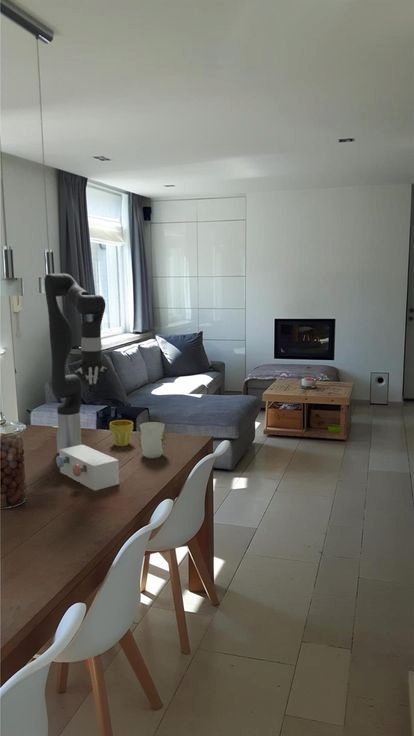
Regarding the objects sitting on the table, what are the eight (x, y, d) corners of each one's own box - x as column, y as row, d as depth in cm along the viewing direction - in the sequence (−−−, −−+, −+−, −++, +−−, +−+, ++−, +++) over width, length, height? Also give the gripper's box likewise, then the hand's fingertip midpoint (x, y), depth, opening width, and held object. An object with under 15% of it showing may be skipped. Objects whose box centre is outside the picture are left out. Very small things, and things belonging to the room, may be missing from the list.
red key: (78, 478, 202) (78, 466, 201) (72, 474, 205) (72, 463, 204) (100, 472, 207) (99, 461, 207) (94, 469, 211) (93, 458, 210)
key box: (94, 490, 202) (93, 466, 200) (60, 472, 221) (59, 449, 220) (119, 484, 208) (118, 460, 207) (83, 466, 227) (82, 444, 226)
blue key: (61, 469, 212) (61, 457, 211) (56, 466, 215) (55, 454, 214) (82, 464, 217) (82, 452, 216) (76, 461, 220) (76, 450, 220)
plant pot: (131, 447, 253) (131, 425, 251) (108, 447, 253) (107, 425, 251) (135, 440, 263) (134, 419, 261) (112, 440, 263) (111, 419, 262)
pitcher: (168, 448, 250) (167, 417, 248) (164, 461, 233) (163, 428, 231) (143, 448, 251) (142, 417, 249) (136, 461, 233) (136, 428, 231)
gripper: (103, 345, 223) (103, 389, 227) (70, 348, 216) (71, 392, 219) (111, 348, 217) (111, 393, 221) (78, 351, 210) (78, 397, 213)
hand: (91, 393), depth 220 cm, fingers closed
